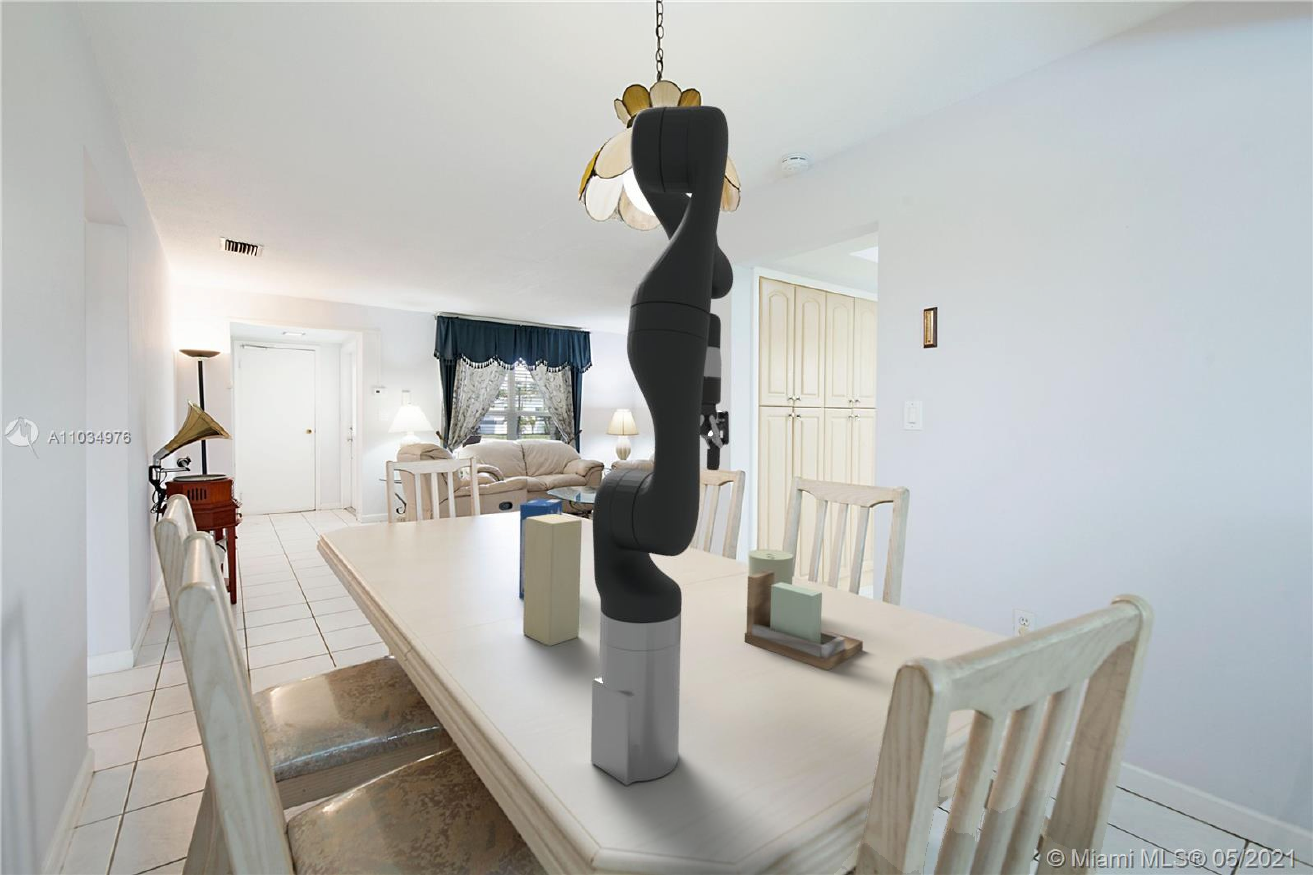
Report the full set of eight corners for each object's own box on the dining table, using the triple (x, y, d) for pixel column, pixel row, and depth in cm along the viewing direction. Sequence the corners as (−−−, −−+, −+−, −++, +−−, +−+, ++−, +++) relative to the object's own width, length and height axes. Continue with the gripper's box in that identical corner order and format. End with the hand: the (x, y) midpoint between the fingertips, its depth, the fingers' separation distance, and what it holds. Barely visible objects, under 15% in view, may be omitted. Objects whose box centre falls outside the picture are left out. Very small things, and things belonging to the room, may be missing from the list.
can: (744, 614, 118) (746, 555, 118) (748, 601, 127) (750, 545, 127) (791, 619, 116) (793, 558, 116) (792, 605, 125) (794, 548, 125)
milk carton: (535, 584, 136) (536, 498, 136) (561, 586, 135) (562, 499, 135) (519, 598, 126) (520, 504, 126) (547, 599, 125) (548, 505, 125)
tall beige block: (583, 635, 105) (585, 518, 105) (549, 647, 100) (551, 523, 99) (555, 624, 111) (557, 513, 110) (522, 634, 105) (523, 517, 105)
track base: (827, 670, 93) (829, 597, 92) (744, 641, 104) (746, 576, 104) (862, 649, 101) (864, 583, 101) (782, 625, 113) (784, 565, 112)
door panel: (811, 650, 97) (812, 596, 97) (769, 636, 103) (771, 585, 102) (820, 645, 99) (822, 592, 99) (779, 632, 105) (781, 582, 104)
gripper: (687, 372, 93) (685, 475, 93) (742, 377, 103) (739, 470, 103) (653, 373, 98) (651, 471, 99) (708, 378, 108) (706, 467, 109)
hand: (696, 471), depth 101 cm, fingers open, 8 cm apart
